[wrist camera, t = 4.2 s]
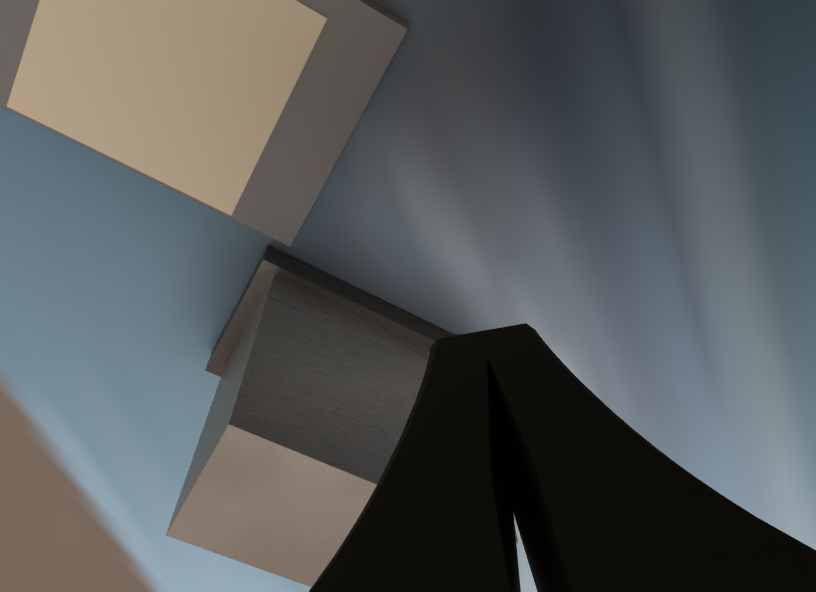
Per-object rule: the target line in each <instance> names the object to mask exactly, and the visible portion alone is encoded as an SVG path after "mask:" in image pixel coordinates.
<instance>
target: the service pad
mask: <svg viewBox="0 0 816 592" xmlns="http://www.w3.org/2000/svg"><path fill="white" fill-rule="evenodd" d="M407 30H408V27H407V22H405V21H404V20H402V19H400V18H399V17H397V16H395V15H394V14H392V13H390V12H389V11H387V10H385V9H384V8H382V7H380V6H379V5H377V4H375V3H374V2H372V1H370V0H0V106H1V107H4V108H6V109H8V110H10V111H12V112H14V113H16V114H18V115H20V116H22V117H24V118H26V119H28V120H30V121H32V122H34V123H36V124H39V125H41V126H43V127H45V128H47V129H49V130H51V131H53V132H55V133H57V134H59V135H61V136H63V137H65V138H67V139H69V140H71V141H73V142H76V143H78V144H80V145H82V146H84V147H86V148H88V149H90V150H92V151H94V152H96V153H98V154H100V155H102V156H104V157H106V158H108V159H110V160H113V161H115V162H117V163H119V164H121V165H123V166H125V167H127V168H129V169H131V170H133V171H135V172H137V173H139V174H141V175H143V176H145V177H147V178H150V179H152V180H154V181H156V182H158V183H160V184H162V185H164V186H166V187H168V188H170V189H172V190H174V191H176V192H178V193H180V194H182V195H185V196H187V197H189V198H191V199H193V200H195V201H197V202H199V203H201V204H203V205H205V206H207V207H209V208H211V209H213V210H215V211H217V212H219V213H222V214H224V215H226V216H228V217H230V218H232V219H234V220H236V221H238V222H240V223H242V224H244V225H246V226H248V227H250V228H252V229H254V230H256V231H259V232H261V233H263V234H265V235H267V236H269V237H271V238H273V239H275V240H277V241H279V242H281V243H283V244H285V245H287V246H289V247H291V245H292V243H293V241H294V239H295V238H296V236H297V234H298V232H299V230H300V228H301V226H302V225H303V223H304V221H305V219H306V217H307V215H308V213H309V212H310V210H311V208H312V206H313V204H314V202H315V201H316V199H317V197H318V195H319V193H320V191H321V189H322V188H323V186H324V184H325V182H326V180H327V178H328V176H329V175H330V173H331V171H332V169H333V167H334V165H335V164H336V162H337V160H338V158H339V156H340V154H341V152H342V151H343V149H344V147H345V145H346V143H347V141H348V139H349V138H350V136H351V134H352V132H353V130H354V128H355V126H356V125H357V123H358V121H359V119H360V117H361V115H362V114H363V112H364V110H365V108H366V106H367V104H368V102H369V101H370V99H371V97H372V95H373V93H374V91H375V89H376V88H377V86H378V84H379V82H380V80H381V78H382V76H383V75H384V73H385V71H386V69H387V67H388V65H389V64H390V62H391V60H392V58H393V56H394V54H395V52H396V51H397V49H398V47H399V45H400V43H401V41H402V39H403V38H404V36H405V34H406V32H407Z"/></svg>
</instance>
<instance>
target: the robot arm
mask: <svg viewBox="0 0 816 592" xmlns="http://www.w3.org/2000/svg"><path fill="white" fill-rule="evenodd" d="M513 512H514V514H513ZM514 516H515V519H516V522H517V526H518V529H519V532H520V536H521V539H522V542H523V545H524V549H525V552H526V555H527V559H528V562H529V565H530V568H531V572H532V575H533V578H534V582H535V585H536V588H537V591H538V592H816V550H814V549H812V548H811V547H809V546H807V545H805V544H803V543H802V542H800V541H798V540H796V539H794V538H793V537H791V536H789V535H787V534H786V533H784V532H782V531H780V530H778V529H777V528H775V527H773V526H771V525H769V524H768V523H766V522H764V521H762V520H761V519H759V518H757V517H755V516H754V515H752V514H751V513H749V512H748V511H746V510H744V509H743V508H741V507H740V506H738V505H736V504H735V503H733V502H732V501H730V500H729V499H727V498H725V497H724V496H722V495H721V494H719V493H718V492H716V491H715V490H713V489H712V488H711V487H709V486H708V485H706V484H705V483H703V482H702V481H700V480H699V479H697V478H696V477H695V476H693V475H692V474H690V473H689V472H687V471H686V470H685V469H683V468H682V467H681V466H679V465H678V464H676V463H675V462H674V461H672V460H671V459H670V458H669V457H667V456H666V455H665V454H663V453H662V452H661V451H659V450H658V449H657V448H656V447H654V446H653V445H652V444H651V443H649V442H648V441H647V440H646V439H644V438H643V437H642V436H641V435H640V434H638V433H637V432H636V431H635V430H633V429H632V428H631V427H630V426H629V425H627V424H626V423H625V422H624V421H623V420H622V419H621V418H619V417H618V416H617V415H616V414H615V413H614V412H613V411H611V410H610V409H609V408H608V407H607V406H606V405H605V404H604V403H603V402H602V401H601V400H600V399H599V398H598V397H596V396H595V395H594V394H593V393H592V392H591V391H590V390H589V389H588V388H587V387H586V386H585V385H584V384H583V383H582V382H581V381H580V380H579V379H578V378H577V377H576V376H575V375H574V374H573V373H572V372H571V371H570V370H569V369H568V368H567V367H566V366H565V365H564V364H563V363H562V362H561V360H560V359H559V358H558V357H557V356H556V355H555V354H554V353H553V352H552V350H551V349H550V348H549V347H548V346H547V345H546V343H545V342H544V341H543V340H542V338H541V337H540V336H539V335H538V333H537V332H536V330H535V329H533V328H532V327H530V326H529V325H528V324H520V325H514V326H508V327H503V328H497V329H491V330H485V331H480V332H474V333H468V334H462V335H457V336H451V337H445V338H440V339H437V340H436V341H435V342H434V344H433V345H432V346H431V347H430V354H429V359H428V363H427V367H426V370H425V374H424V377H423V380H422V383H421V386H420V389H419V392H418V395H417V398H416V400H415V403H414V405H413V408H412V410H411V413H410V415H409V418H408V420H407V423H406V425H405V427H404V430H403V432H402V435H401V437H400V439H399V441H398V444H397V446H396V448H395V450H394V452H393V454H392V456H391V458H390V460H389V462H388V464H387V466H386V468H385V470H384V472H383V474H382V476H381V478H380V480H379V482H378V484H377V486H376V488H375V489H374V491H373V493H372V495H371V497H370V498H369V500H368V502H367V504H366V506H365V507H364V509H363V511H362V512H361V514H360V516H359V517H358V519H357V521H356V522H355V524H354V526H353V527H352V529H351V530H350V532H349V534H348V535H347V537H346V538H345V540H344V541H343V543H342V545H341V546H340V548H339V549H338V551H337V552H336V554H335V555H334V557H333V558H332V560H331V561H330V562H329V564H328V565H327V567H326V568H325V569H324V571H323V572H322V574H321V575H320V576H319V578H318V579H317V581H316V582H315V583H314V585H313V586H312V588H311V589H310V591H309V592H521V591H520V580H519V568H518V557H517V547H516V536H515V525H514Z"/></svg>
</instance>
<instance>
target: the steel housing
mask: <svg viewBox="0 0 816 592" xmlns="http://www.w3.org/2000/svg"><path fill="white" fill-rule="evenodd" d="M451 336H455V335H453V334H450V333H448V332H446V331H444V330H442V329H440V328H438V327H436V326H434V325H432V324H430V323H428V322H426V321H424V320H421V319H419V318H417V317H415V316H413V315H411V314H409V313H407V312H405V311H403V310H401V309H399V308H397V307H395V306H392V305H390V304H388V303H386V302H384V301H382V300H380V299H378V298H376V297H374V296H372V295H370V294H368V293H366V292H363V291H361V290H359V289H357V288H355V287H353V286H351V285H349V284H347V283H345V282H343V281H341V280H339V279H337V278H334V277H332V276H330V275H328V274H326V273H324V272H322V271H320V270H318V269H316V268H314V267H312V266H310V265H307V264H305V263H303V262H301V261H299V260H297V259H295V258H293V257H291V256H289V255H287V254H285V253H283V252H281V251H278V250H276V249H274V248H272V247H270V246H268V247H267V249H266V251H265V253H264V254H263V256H262V258H261V260H260V262H259V264H258V266H257V268H256V270H255V272H254V274H253V275H252V277H251V279H250V281H249V283H248V285H247V287H246V289H245V291H244V293H243V295H242V296H241V298H240V300H239V302H238V304H237V306H236V308H235V310H234V312H233V314H232V315H231V317H230V319H229V321H228V323H227V325H226V327H225V329H224V331H223V333H222V335H221V336H220V338H219V340H218V342H217V344H216V346H215V348H214V350H213V352H212V354H211V356H210V359H209V362H208V364H207V367H206V369H205V370H206V371H209V372H211V373H213V374H216V375H218V376H220V377H221V379H220V382H219V384H218V387H217V390H216V393H215V396H214V399H213V402H212V404H211V407H210V410H209V413H208V416H207V419H206V422H205V425H204V427H203V430H202V433H201V436H200V439H199V442H198V445H197V447H196V450H195V453H194V456H193V459H192V462H191V465H190V468H189V470H188V473H187V476H186V479H185V482H184V485H183V488H182V490H181V493H180V496H179V499H178V502H177V505H176V508H175V510H174V513H173V516H172V519H171V522H170V525H169V528H168V531H167V533H166V535H167V536H169V537H172V538H175V539H178V540H181V541H184V542H186V543H189V544H192V545H195V546H198V547H200V548H203V549H206V550H209V551H212V552H214V553H217V554H220V555H223V556H226V557H228V558H231V559H234V560H237V561H240V562H242V563H245V564H248V565H251V566H254V567H257V568H259V569H262V570H265V571H268V572H271V573H273V574H276V575H279V576H282V577H285V578H287V579H290V580H293V581H296V582H299V583H301V584H304V585H307V586H310V587H312V586H313V585H314V583H315V582H316V581H317V579H318V578H319V576H320V575H321V574H322V572H323V571H324V569H325V568H326V567H327V565H328V564H329V562H330V561H331V560H332V558H333V557H334V555H335V554H336V552H337V551H338V549H339V548H340V546H341V545H342V543H343V541H344V540H345V538H346V537H347V535H348V534H349V532H350V530H351V529H352V527H353V526H354V524H355V522H356V521H357V519H358V517H359V516H360V514H361V512H362V511H363V509H364V507H365V506H366V504H367V502H368V500H369V498H370V497H371V495H372V493H373V491H374V489H375V488H376V486H377V484H378V482H379V480H380V478H381V476H382V474H383V472H384V470H385V468H386V466H387V464H388V462H389V460H390V458H391V456H392V454H393V452H394V450H395V448H396V446H397V444H398V441H399V439H400V437H401V435H402V432H403V430H404V427H405V425H406V423H407V420H408V418H409V415H410V413H411V410H412V408H413V405H414V403H415V400H416V398H417V395H418V392H419V389H420V386H421V383H422V380H423V377H424V374H425V370H426V367H427V363H428V359H429V354H430V347H431V346H432V345H433V344H434V342H435V341H436V340H437V339H440V338H445V337H451ZM515 536H516V544H517V542H518V540H517V535H516V530H515Z"/></svg>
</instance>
